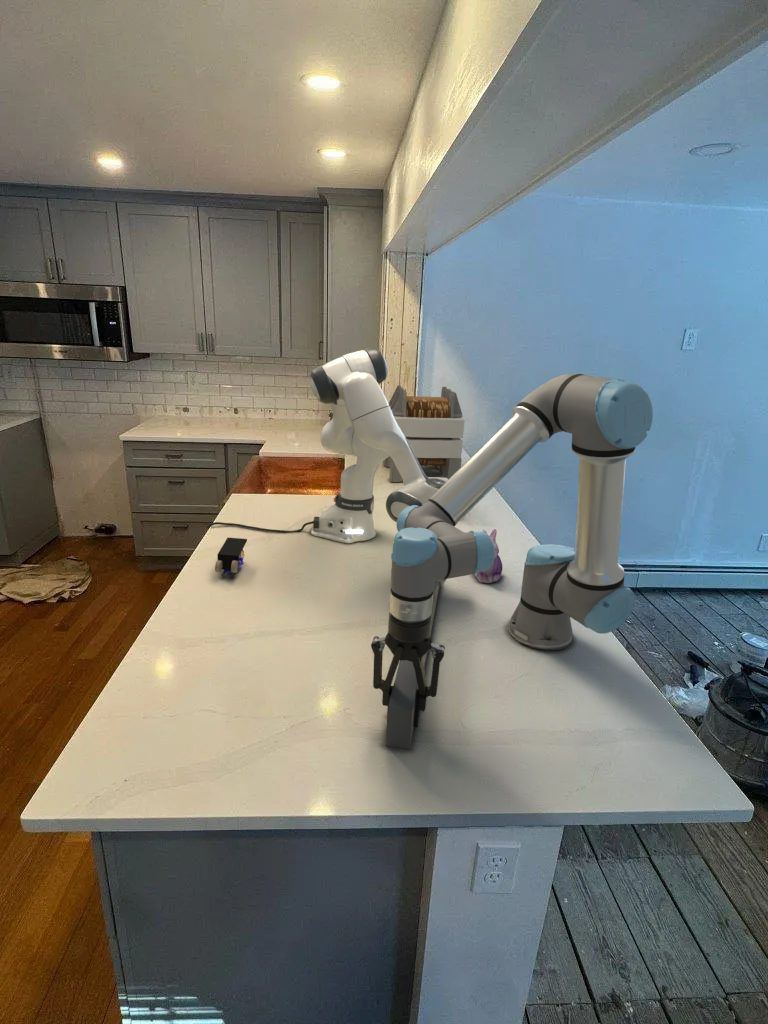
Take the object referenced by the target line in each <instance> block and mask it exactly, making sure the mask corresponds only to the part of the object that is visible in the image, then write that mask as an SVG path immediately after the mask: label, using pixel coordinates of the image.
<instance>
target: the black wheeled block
mask: <svg viewBox="0 0 768 1024" xmlns="http://www.w3.org/2000/svg"><path fill="white" fill-rule="evenodd" d="M247 542H248V538H240V537H226V539H225V541H224V543H223V544H222V546H221V547H220V549H219V551H218V552H217V560H216V562H215V564H214V572H215V573H221V577H222V578H224V577H225V576H226V574H227V573H230V574H231V573H232V574H231V578H234V577H235V575H236V573H237V572H239V571H240V567H242V566H243V565H244V564H245V562H244V558H245V551H244V547H245V546H246V544H247Z"/></svg>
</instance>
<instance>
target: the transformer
mask: <svg viewBox="0 0 768 1024" xmlns="http://www.w3.org/2000/svg"><path fill="white" fill-rule="evenodd" d="M440 393H441V394H440V396H415V395H414V396H413V395H412V396H411V395H407V394H408V393H407V390H406V389H404V388H403V387H402V385H399V384H398V385H397V386H396V388H395V390H394V392H393V394H392V395H391V398H390V400H389V401H388V404H389V406H390V409H391V411H392V413H393V416H394V418H395V420H396V422H397V424H398V426H399V428H400V429H401V430H402V432H403V433H404V435H405V437H406V438H407V440H408V442H409V444H410V446H411V448H412V450H413V452H414V454H415V456H416V458H417V460H418V462H419V464H420V466H421V467H436V468H437V470H438V469H439V473H440V474H441V475H443V476H442V477H443V478H447V479H448V480H449V479H450V478H451V477H452V476H453V475H454V474H455V473H456V472H457V471H458V470H459V469H460V468H461V467H462V461H463V460H462V453H463V442H464V441H463V440H462V439H463V438H464V431H465V430H464V429H465V419H464V418H463V411H462V408H461V405H460V402H459V398H458V395H457V392H455V391H453V390H452V389H451V388H447V386H442V387H441V392H440ZM382 463H383V466H384V467H388V468H389V475H388V476H389V477H388V478H389V480H390V482H391V483H403V479H402V477H401V475H400V473H399V471H398V469H397V467H396V465H395V463H394V461H393V460H392V458H391V457H388V458H386V459H385V460H384V461H383V462H382Z"/></svg>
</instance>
